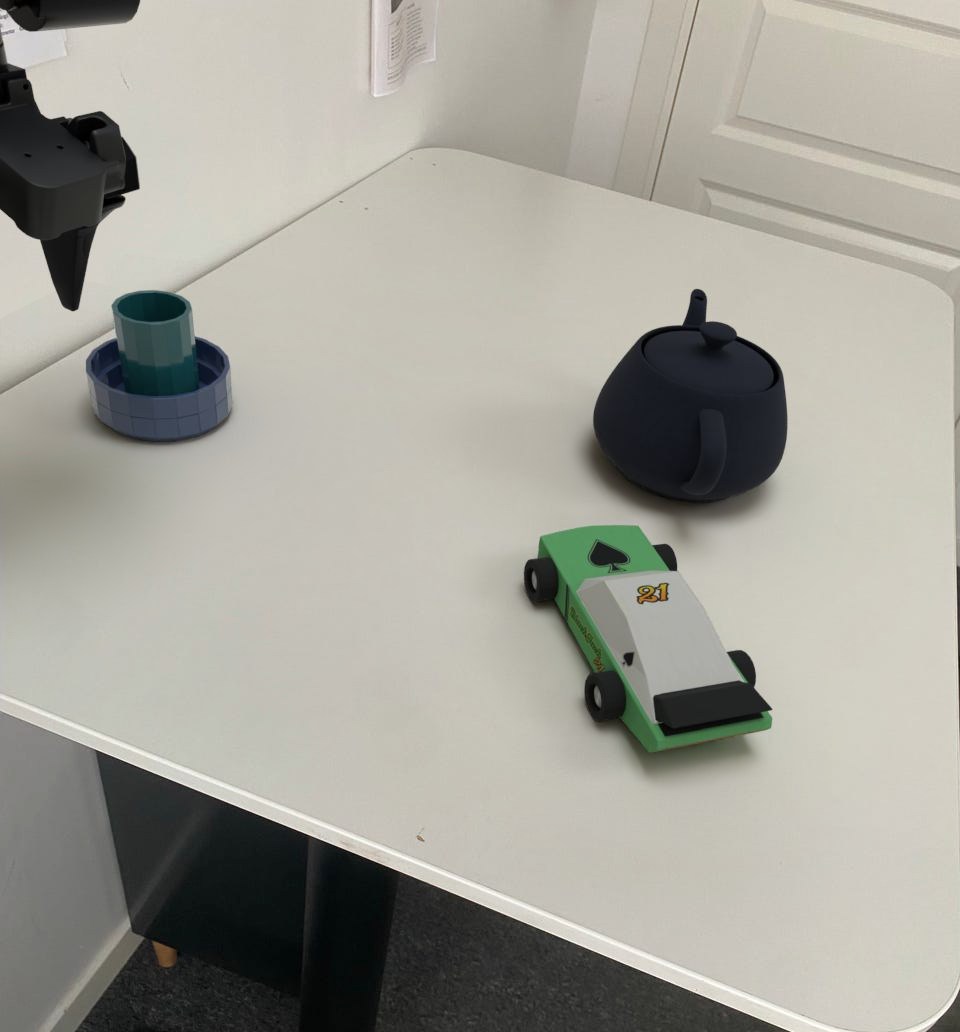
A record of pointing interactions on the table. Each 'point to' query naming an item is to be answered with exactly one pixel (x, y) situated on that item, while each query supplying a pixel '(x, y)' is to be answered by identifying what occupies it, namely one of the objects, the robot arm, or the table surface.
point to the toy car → (645, 639)
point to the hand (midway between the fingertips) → (10, 332)
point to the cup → (156, 343)
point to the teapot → (694, 411)
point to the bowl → (160, 397)
